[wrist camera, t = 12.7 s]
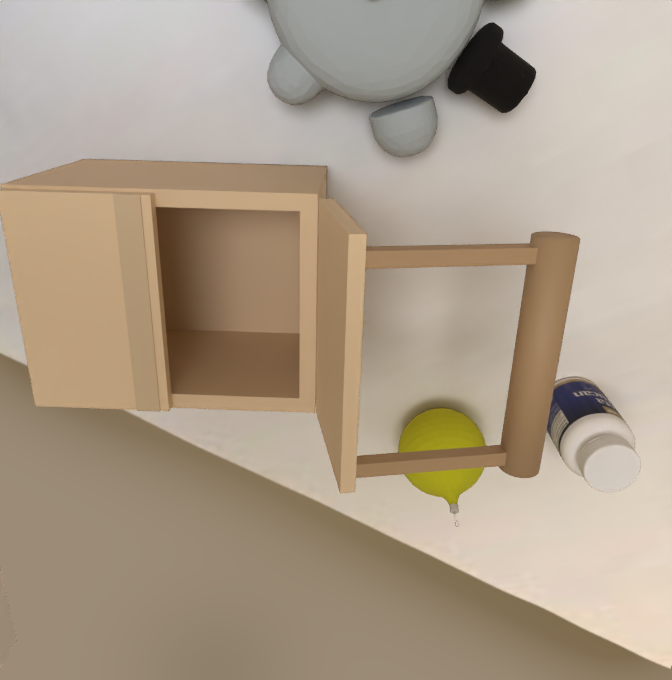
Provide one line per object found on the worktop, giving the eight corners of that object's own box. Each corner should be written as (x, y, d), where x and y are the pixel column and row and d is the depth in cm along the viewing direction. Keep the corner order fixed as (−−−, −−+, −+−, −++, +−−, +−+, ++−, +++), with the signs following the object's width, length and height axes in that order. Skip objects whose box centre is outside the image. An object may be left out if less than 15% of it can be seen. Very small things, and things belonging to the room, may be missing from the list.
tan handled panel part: (319, 198, 35) (506, 197, 37) (316, 412, 40) (480, 401, 42) (351, 237, 27) (591, 233, 29) (342, 500, 32) (545, 482, 34)
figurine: (194, 37, 43) (429, 189, 49) (173, 38, 35) (454, 218, 41) (326, -239, 37) (577, -30, 43) (336, -310, 30) (639, -44, 35)
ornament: (436, 477, 57) (452, 555, 48) (378, 431, 55) (383, 503, 46) (495, 427, 55) (523, 498, 45) (437, 377, 53) (454, 441, 44)
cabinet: (106, 333, 52) (32, 409, 40) (84, 158, 47) (-8, 186, 35) (323, 341, 52) (313, 419, 40) (326, 166, 46) (317, 196, 35)
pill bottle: (610, 379, 53) (663, 441, 44) (592, 434, 55) (638, 505, 46) (546, 371, 52) (586, 432, 43) (530, 427, 54) (565, 496, 45)
